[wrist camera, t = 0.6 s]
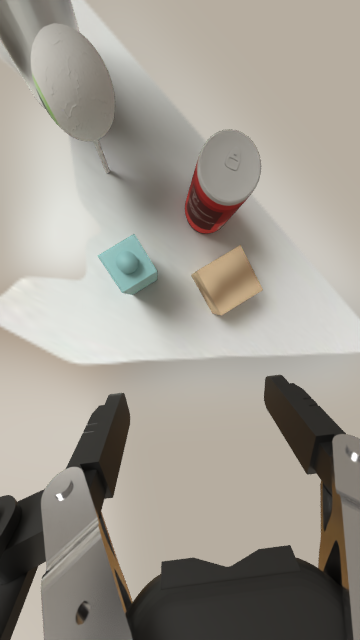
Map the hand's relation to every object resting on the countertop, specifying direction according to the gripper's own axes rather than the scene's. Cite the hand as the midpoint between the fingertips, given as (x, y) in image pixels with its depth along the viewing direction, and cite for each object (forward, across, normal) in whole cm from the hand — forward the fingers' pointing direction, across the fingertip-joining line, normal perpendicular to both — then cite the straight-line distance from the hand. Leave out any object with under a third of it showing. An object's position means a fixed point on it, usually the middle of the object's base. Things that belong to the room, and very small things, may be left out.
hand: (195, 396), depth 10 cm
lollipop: (+29, +9, -21) cm, 36 cm away
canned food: (+28, -6, -13) cm, 32 cm away
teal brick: (+25, +7, -4) cm, 26 cm away
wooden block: (+26, -8, -1) cm, 27 cm away
